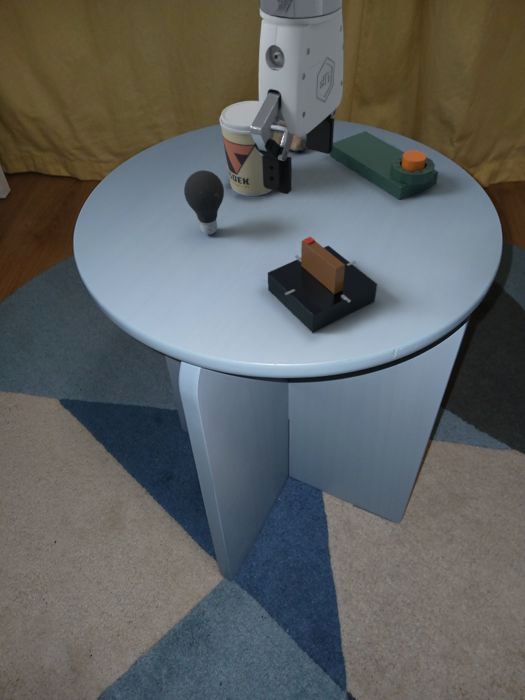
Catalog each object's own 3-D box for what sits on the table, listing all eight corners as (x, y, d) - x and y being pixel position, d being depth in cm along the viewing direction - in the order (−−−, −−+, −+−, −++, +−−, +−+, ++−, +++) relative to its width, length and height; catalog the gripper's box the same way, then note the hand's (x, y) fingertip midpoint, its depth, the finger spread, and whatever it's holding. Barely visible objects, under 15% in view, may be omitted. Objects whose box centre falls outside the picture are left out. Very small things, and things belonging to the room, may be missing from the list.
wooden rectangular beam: (343, 290, 69) (345, 263, 66) (334, 294, 68) (336, 267, 65) (309, 262, 73) (310, 235, 70) (300, 265, 73) (301, 239, 69)
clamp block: (381, 302, 72) (384, 283, 69) (311, 338, 68) (312, 319, 65) (328, 259, 78) (329, 240, 76) (261, 289, 74) (260, 270, 72)
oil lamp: (268, 165, 98) (309, 157, 100) (268, 145, 95) (311, 137, 97) (251, 138, 103) (291, 130, 105) (251, 118, 100) (292, 110, 102)
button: (429, 167, 87) (431, 156, 86) (412, 174, 86) (414, 163, 85) (413, 158, 89) (415, 147, 88) (396, 165, 88) (398, 154, 87)
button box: (441, 187, 90) (446, 164, 87) (404, 203, 87) (408, 180, 84) (364, 142, 101) (366, 121, 98) (329, 155, 98) (330, 133, 95)
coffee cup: (214, 183, 93) (207, 112, 85) (258, 164, 97) (255, 94, 89) (248, 205, 88) (244, 132, 80) (293, 184, 92) (293, 113, 83)
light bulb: (185, 241, 82) (174, 180, 75) (199, 220, 86) (190, 160, 79) (220, 247, 81) (213, 185, 74) (233, 225, 85) (227, 165, 77)
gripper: (290, 29, 43) (290, 216, 56) (378, -26, 53) (361, 143, 66) (211, 17, 46) (229, 198, 59) (308, -34, 56) (305, 130, 69)
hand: (299, 169), depth 62 cm, fingers open, 9 cm apart
